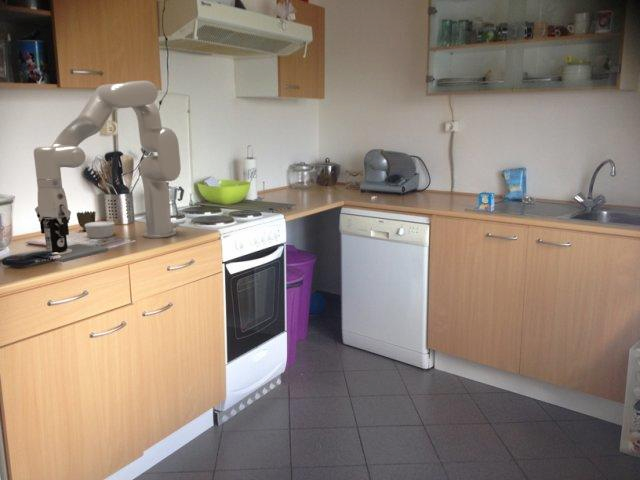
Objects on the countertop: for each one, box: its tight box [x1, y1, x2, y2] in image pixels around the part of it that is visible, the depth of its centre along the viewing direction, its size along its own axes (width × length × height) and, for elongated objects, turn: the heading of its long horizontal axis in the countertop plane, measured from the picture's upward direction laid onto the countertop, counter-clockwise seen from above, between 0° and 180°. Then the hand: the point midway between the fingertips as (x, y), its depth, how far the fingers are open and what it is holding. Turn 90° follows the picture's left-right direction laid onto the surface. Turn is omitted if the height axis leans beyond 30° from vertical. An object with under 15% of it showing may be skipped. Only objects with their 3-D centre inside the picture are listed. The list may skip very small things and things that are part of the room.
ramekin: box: [84, 220, 116, 239], centre depth 226 cm, size 11×11×5 cm
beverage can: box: [43, 217, 68, 253], centre depth 193 cm, size 7×7×12 cm
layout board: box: [45, 243, 109, 263], centre depth 196 cm, size 18×16×1 cm
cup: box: [76, 210, 97, 233], centre depth 236 cm, size 8×7×8 cm
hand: (55, 234), depth 193 cm, fingers open, 9 cm apart
